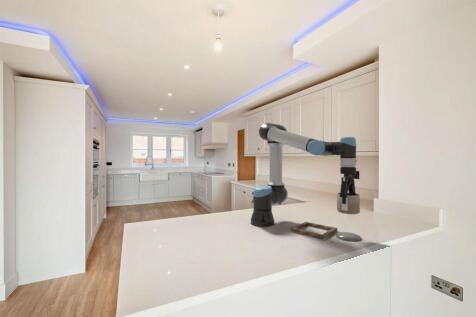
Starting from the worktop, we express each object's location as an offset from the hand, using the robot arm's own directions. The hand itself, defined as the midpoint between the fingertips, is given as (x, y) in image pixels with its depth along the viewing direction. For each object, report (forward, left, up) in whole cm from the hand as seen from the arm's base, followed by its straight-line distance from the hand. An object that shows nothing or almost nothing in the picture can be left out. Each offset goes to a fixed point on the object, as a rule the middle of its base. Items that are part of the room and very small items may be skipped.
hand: (348, 208), depth 116 cm
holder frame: (-17, -3, -15) cm, 23 cm away
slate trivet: (0, 0, -15) cm, 15 cm away
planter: (0, 0, -2) cm, 2 cm away
